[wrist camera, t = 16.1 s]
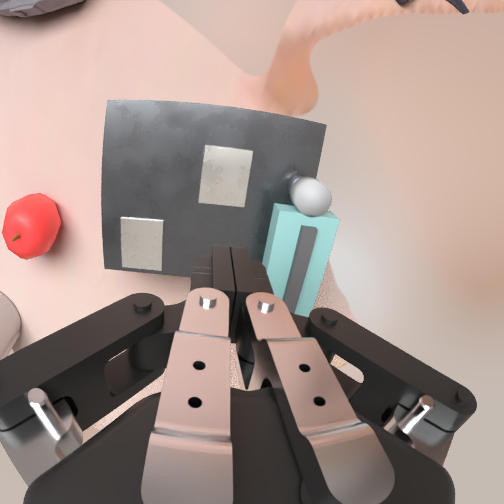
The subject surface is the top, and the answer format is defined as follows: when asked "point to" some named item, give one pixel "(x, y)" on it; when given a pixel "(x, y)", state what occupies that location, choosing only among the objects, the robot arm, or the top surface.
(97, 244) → the top surface
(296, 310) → the bar
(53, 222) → the apple
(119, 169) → the box
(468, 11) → the squeegee
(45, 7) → the small grey backpack
